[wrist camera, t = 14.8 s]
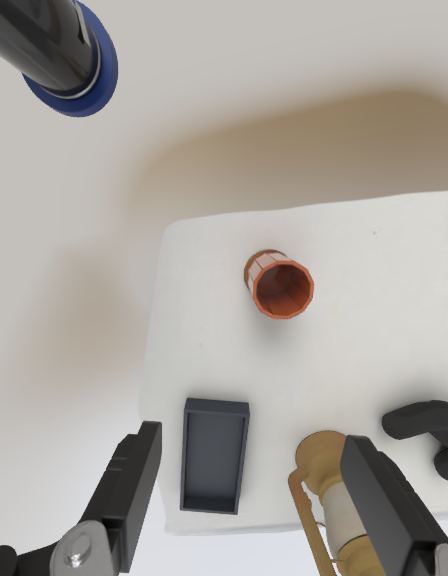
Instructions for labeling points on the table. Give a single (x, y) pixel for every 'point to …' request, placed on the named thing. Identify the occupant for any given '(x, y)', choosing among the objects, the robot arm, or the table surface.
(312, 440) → the lantern
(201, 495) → the tray
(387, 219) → the table surface
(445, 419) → the gaming controller
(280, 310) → the cup
